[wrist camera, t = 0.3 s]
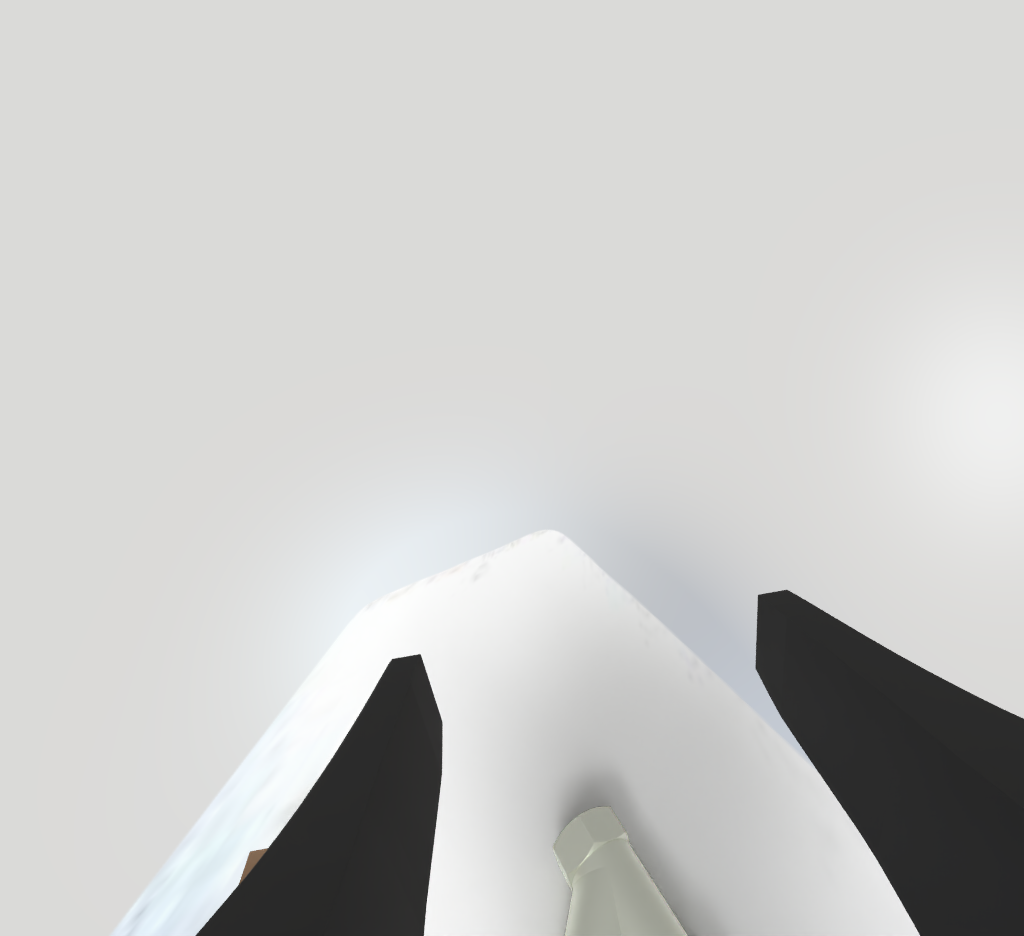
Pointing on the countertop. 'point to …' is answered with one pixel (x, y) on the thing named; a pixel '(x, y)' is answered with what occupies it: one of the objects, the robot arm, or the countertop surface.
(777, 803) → the countertop surface
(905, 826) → the robot arm
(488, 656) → the countertop surface
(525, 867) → the countertop surface
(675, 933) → the pipe fitting
